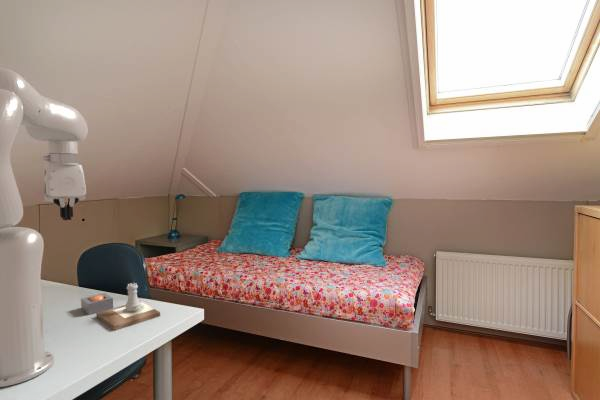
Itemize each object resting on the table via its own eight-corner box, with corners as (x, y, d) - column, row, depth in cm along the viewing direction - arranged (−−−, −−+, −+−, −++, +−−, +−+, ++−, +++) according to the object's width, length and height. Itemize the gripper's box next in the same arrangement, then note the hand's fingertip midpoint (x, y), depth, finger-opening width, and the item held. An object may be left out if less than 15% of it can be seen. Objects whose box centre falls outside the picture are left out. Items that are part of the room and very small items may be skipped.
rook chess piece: (134, 312, 103) (133, 286, 102) (121, 311, 104) (120, 285, 103) (144, 307, 107) (143, 282, 107) (131, 306, 108) (130, 281, 108)
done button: (92, 306, 107) (92, 300, 107) (88, 303, 110) (88, 297, 110) (105, 303, 110) (105, 296, 110) (101, 300, 112) (101, 294, 112)
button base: (88, 314, 105) (88, 304, 105) (81, 309, 110) (80, 298, 109) (113, 308, 110) (112, 297, 110) (105, 302, 115) (104, 293, 115)
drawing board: (114, 330, 94) (114, 325, 94) (96, 316, 103) (96, 312, 103) (160, 315, 104) (160, 311, 104) (140, 304, 113) (139, 300, 113)
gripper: (36, 159, 97) (40, 223, 98) (95, 160, 108) (97, 218, 109) (30, 159, 102) (34, 221, 103) (87, 161, 113) (89, 216, 114)
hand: (66, 219), depth 106 cm, fingers closed
